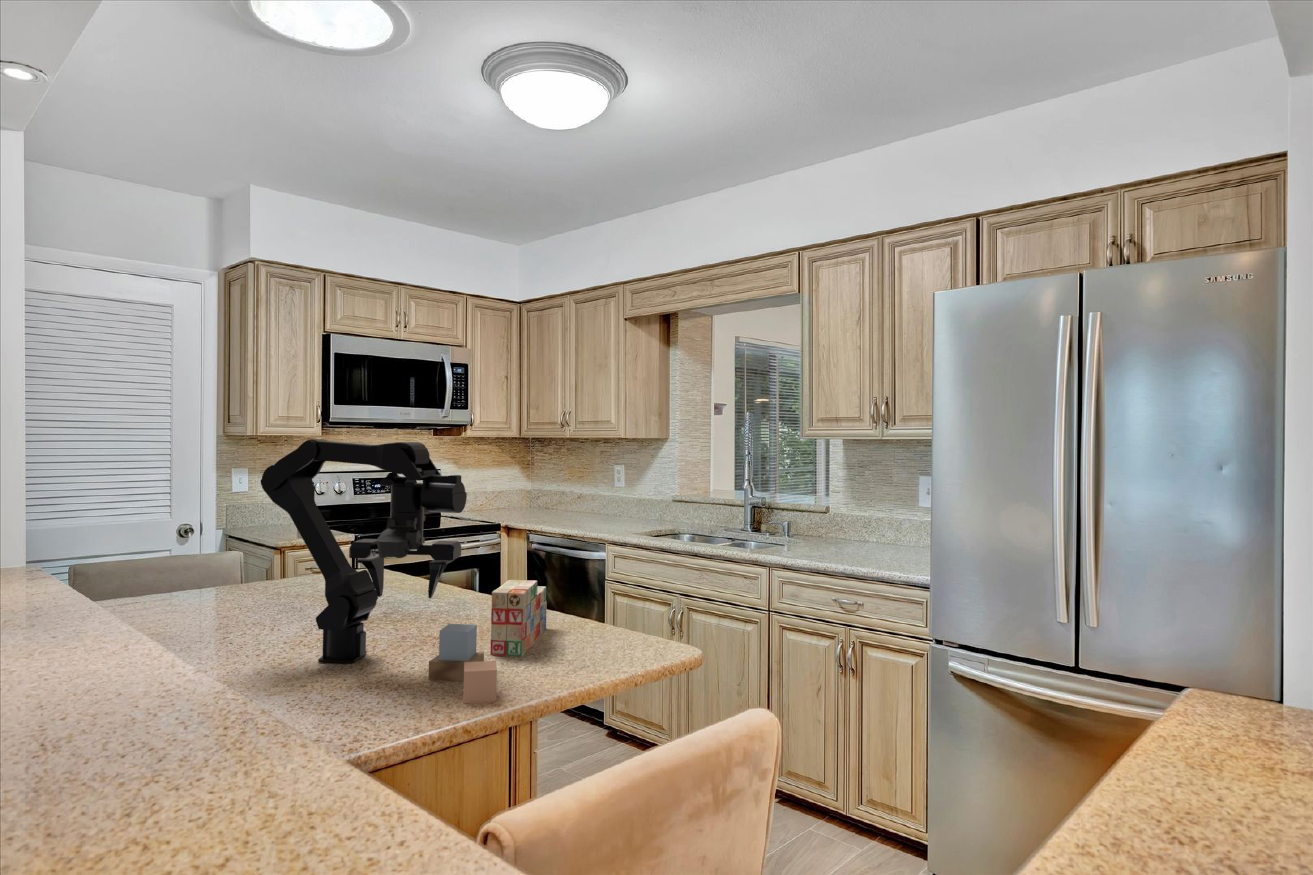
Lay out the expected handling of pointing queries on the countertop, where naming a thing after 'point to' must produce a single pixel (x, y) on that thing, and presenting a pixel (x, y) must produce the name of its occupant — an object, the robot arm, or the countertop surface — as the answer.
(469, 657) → the slate cube
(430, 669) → the walnut slab
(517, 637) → the stack of blocks
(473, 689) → the terracotta cube
